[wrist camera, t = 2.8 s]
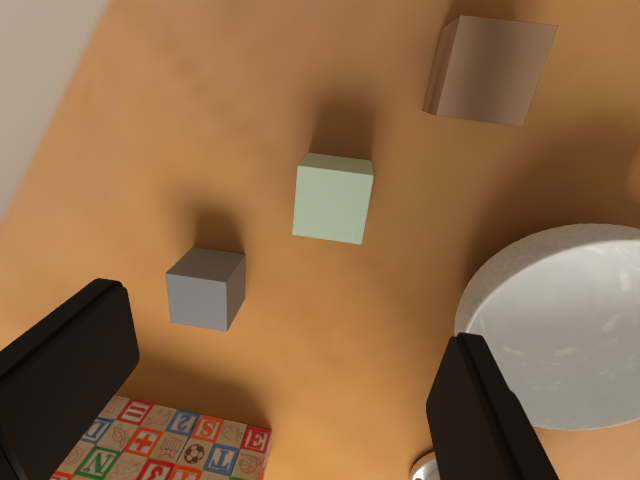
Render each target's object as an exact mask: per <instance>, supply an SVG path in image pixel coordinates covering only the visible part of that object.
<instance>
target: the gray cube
mask: <svg viewBox="0 0 640 480" xmlns="http://www.w3.org/2000/svg"><path fill="white" fill-rule="evenodd" d="M166 283H167V292H168V301H169V310H170V319H171V323H176V324H183V325H189V326H195V327H201V328H208V329H214V330H220V331H226V332H227V331H228V329H229V327H230V325H231V323H232V322H233V320H234V318H235V316H236V314H237V312H238V311H239V309H240V307H241V305H242V303H243V301H244V300H245V254H239V253H233V252H226V251H219V250H213V249H206V248H199V247H193V248H191V249H190V250H189V251H188V252H187V253H186V254H185V255H184V256H183V257H182V258H181V259H180V260H179V261H178V262H177V263H176V264H175V265H174V266H173V267H172V268H171V269H170V270H168V271H167V272H166Z"/></svg>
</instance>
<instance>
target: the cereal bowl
mask: <svg viewBox="0 0 640 480" xmlns="http://www.w3.org/2000/svg"><path fill="white" fill-rule="evenodd" d="M454 322H455V328H454V333H455V337H456V336H457V334H458V333H459V332H464V333H471V334H477V335H482V336H483V337H484V339H485V341H486V343H487V345H488V347H489V349H490V351H491V353H492V355H493V357H494V359H495V361H496V363H497V365H498V367H499V369H500V371H501V373H502V375H503V377H504V379H505V381H506V383H507V385H508V387H509V389H510V390H511V391H512V392H513V393H515V395H516V396H517V398H518V399H519V401H520V403H521V405H522V407H523V409H524V411H525V413H526V415H527V417H528V419H529V421H530V423H531V425H532V426H535V427H540V428H546V429H554V430H592V429H600V428H606V427H612V426H617V425H621V424H625V423H629V422H632V421H635V420H638V419H640V229H637V228H634V227H626V226H623V225H611V224H596V223H588V224H581V223H579V224H573V225H564V226H561V227H555V228H550V229H548V230H542V231H540V232H538V233H534V234H531V235H527V236H526V237H525V238H522V239H520V240H519V241H516V242H513V243H512V244H511V245H509V246H507V247H506V248H504V249H502V250H501V251H500V252H498V253H497V254H495V255H494V256H493V257H491V258H490V259H489V260H488V261H486V263H485V264H484V265H483V266H481V267H480V269H479V270H478V271H477V272H476V273H475V274H474V276H473V277H472V279H471V280H470V281H469V283H468V285H467V287H466V288H465V290H464V293H463V294H462V296H461V298H460V302H459V304H458V307H457V311H456V314H455V320H454Z"/></svg>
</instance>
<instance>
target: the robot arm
mask: <svg viewBox="0 0 640 480" xmlns="http://www.w3.org/2000/svg"><path fill="white" fill-rule="evenodd" d="M138 361H139V349H138V344H137V339H136V334H135V329H134V323H133V318H132V313H131V308H130V302H129V297H128V292H127V289H126V288H125V287H123V285H122V283H121V282H119V281H115V280H108V279H101V278H98V279H95V280H93V281H92V282H91V283H89V284H88V285H87V286H85V287H84V288H83V289H81V290H80V291H79V292H77V293H76V294H75V295H74V296H72V297H71V298H70V299H68V300H67V301H66V302H64V303H63V304H62V305H60V306H59V307H58V308H56V309H55V310H54V311H53V312H51V313H50V314H49V315H47V316H46V317H45V318H43V319H42V320H41V321H39V322H38V323H37V324H35V325H34V326H33V327H32V328H30V329H29V330H28V331H26V332H25V333H24V334H22V335H21V336H20V337H18V338H17V339H16V340H15V341H13V342H12V343H11V344H9V345H8V346H7V347H5V348H4V349H3V350H1V351H0V480H49V479H50V478H51V477H52V475H53V474H54V473H55V471H56V470H57V469H58V468H59V466H60V465H61V464H62V462H63V461H64V460H65V458H66V457H67V456H68V455H69V453H70V452H71V451H72V449H73V448H74V447H75V445H76V444H77V443H78V442H79V440H80V439H81V438H82V436H83V435H84V434H85V432H86V431H87V430H88V429H89V427H90V426H91V425H92V423H93V422H94V421H95V419H96V418H97V417H98V416H99V414H100V413H101V412H102V410H103V409H104V408H105V406H106V405H107V404H108V403H109V401H110V400H111V399H112V397H113V396H114V395H115V393H116V392H117V391H118V390H119V388H120V387H121V386H122V384H123V383H124V382H125V380H126V379H127V378H128V377H129V375H130V374H131V373H132V371H133V370H134V369H135V367H136V366H137V364H138ZM426 413H427V419H428V424H429V428H430V433H431V438H432V443H433V448H434V451H433V452H431V453H429V454H427V455H425V456H424V457H422V458H421V459H420V460H418V461H417V462H416V464H415V465H414V466H413V468H412V470H411V472H410V480H559V478H558V476H557V474H556V472H555V470H554V468H553V466H552V464H551V462H550V460H549V458H548V457H547V455H546V453H545V451H544V449H543V447H542V445H541V443H540V441H539V439H538V437H537V435H536V433H535V431H534V429H533V427H532V425H531V423H530V421H529V419H528V417H527V415H526V413H525V411H524V409H523V407H522V405H521V403H520V401H519V399H518V398H517V396H516V395H515V393H513V392H512V391H511V390H510V389H509V387H508V385H507V383H506V381H505V379H504V377H503V375H502V373H501V371H500V369H499V367H498V365H497V363H496V361H495V359H494V357H493V355H492V353H491V351H490V349H489V347H488V345H487V343H486V341H485V339H484V337H483V336H482V335H477V334H471V333H464V332H459V333H458V334H457V336H456V337H455V336H452V337H451V338H450V340H449V342H448V345H447V348H446V350H445V353H444V356H443V358H442V361H441V364H440V367H439V369H438V372H437V375H436V377H435V380H434V383H433V385H432V388H431V391H430V394H429V396H428V399H427V403H426Z"/></svg>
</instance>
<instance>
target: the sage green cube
mask: <svg viewBox="0 0 640 480" xmlns="http://www.w3.org/2000/svg"><path fill="white" fill-rule="evenodd" d="M373 177H374V174H373V168H372V161H370V160H362V159H355V158H347V157H339V156H332V155H324V154H316V153H309V152H308V154H307V155H306V156H305V157H304V158H303V160H302V161H301V162H300V163H299V165H298V169H297V182H296V194H295V207H294V220H293V232H292V235H299V236H306V237H313V238H320V239H327V240H334V241H340V242H347V243H354V244H362V238H363V233H364V227H365V221H366V216H367V210H368V205H369V199H370V194H371V188H372V183H373Z"/></svg>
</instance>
